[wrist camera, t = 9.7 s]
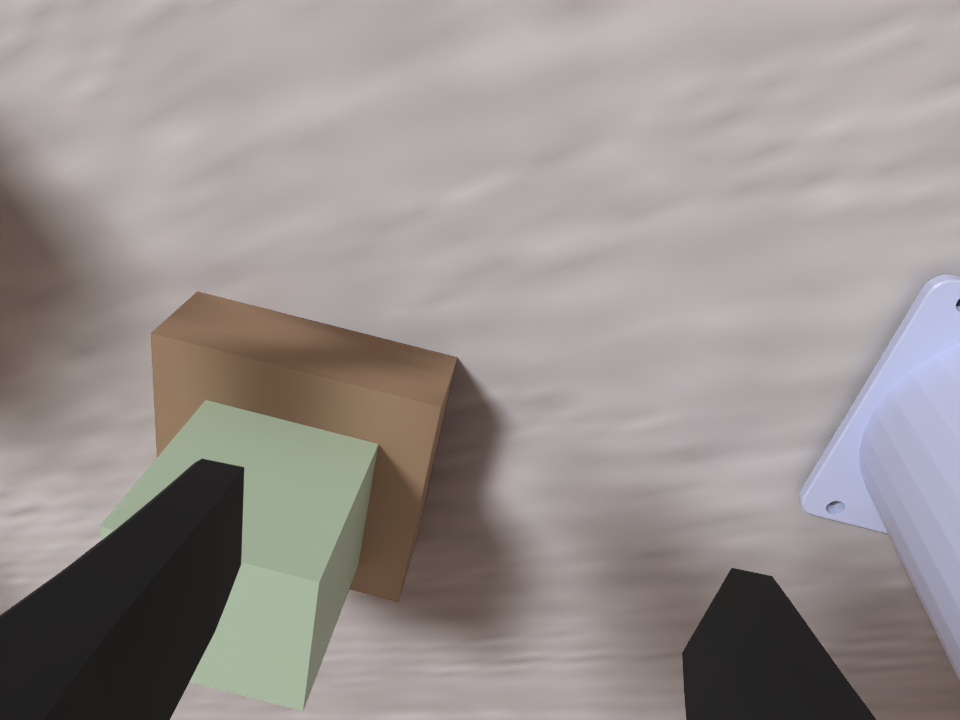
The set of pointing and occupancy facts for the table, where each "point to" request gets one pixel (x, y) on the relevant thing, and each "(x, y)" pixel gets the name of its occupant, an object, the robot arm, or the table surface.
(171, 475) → the sage cube
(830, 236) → the table surface
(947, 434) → the robot arm
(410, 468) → the walnut block
